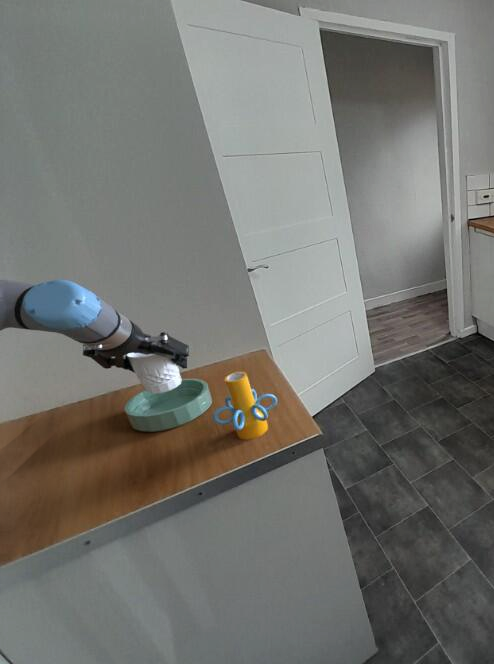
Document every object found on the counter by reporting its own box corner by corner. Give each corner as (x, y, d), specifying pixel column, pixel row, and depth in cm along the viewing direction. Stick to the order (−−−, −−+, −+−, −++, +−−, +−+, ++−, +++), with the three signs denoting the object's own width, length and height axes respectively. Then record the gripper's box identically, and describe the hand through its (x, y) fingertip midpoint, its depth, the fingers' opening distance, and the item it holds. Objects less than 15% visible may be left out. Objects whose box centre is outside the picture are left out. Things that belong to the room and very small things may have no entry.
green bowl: (117, 439, 90) (109, 421, 88) (151, 400, 104) (144, 383, 102) (199, 427, 95) (193, 409, 93) (221, 390, 108) (216, 374, 106)
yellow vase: (212, 439, 91) (190, 383, 84) (253, 412, 100) (236, 359, 93) (253, 454, 87) (233, 396, 81) (292, 424, 96) (277, 370, 90)
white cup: (137, 388, 95) (120, 350, 91) (177, 373, 101) (163, 337, 97) (149, 400, 91) (133, 361, 87) (190, 384, 97) (176, 347, 93)
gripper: (33, 361, 73) (108, 390, 93) (174, 342, 80) (215, 372, 100) (37, 322, 75) (109, 359, 95) (174, 307, 82) (214, 344, 102)
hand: (163, 366), depth 97 cm, fingers closed on white cup, 8 cm apart
